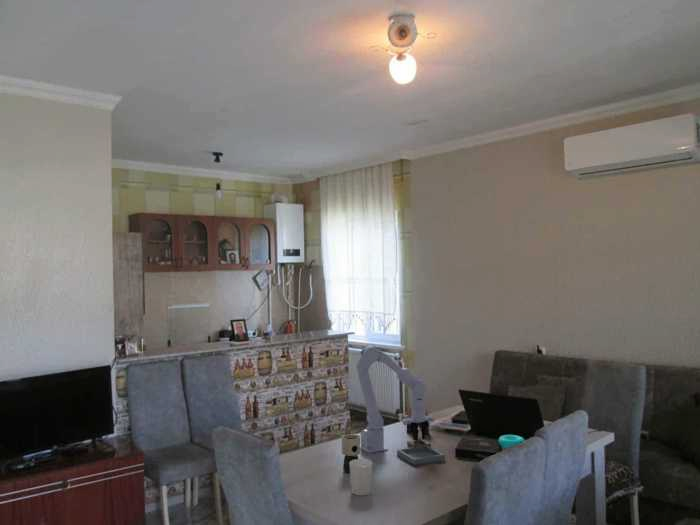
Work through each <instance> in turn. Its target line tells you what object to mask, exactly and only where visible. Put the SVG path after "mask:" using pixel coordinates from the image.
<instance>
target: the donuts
mask: <svg viewBox="0 0 700 525" xmlns="http://www.w3.org/2000/svg"><path fill="white" fill-rule="evenodd" d="M498 441H499V443H500V445H502V448H506V449H509V448H508V447H510V446H513V445H515V444H518V443H520V442H523V441H525V442H526V440H525V439H524V437H522V436H520V435H515V434H505V435H501V436H499V438H498Z"/></svg>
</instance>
